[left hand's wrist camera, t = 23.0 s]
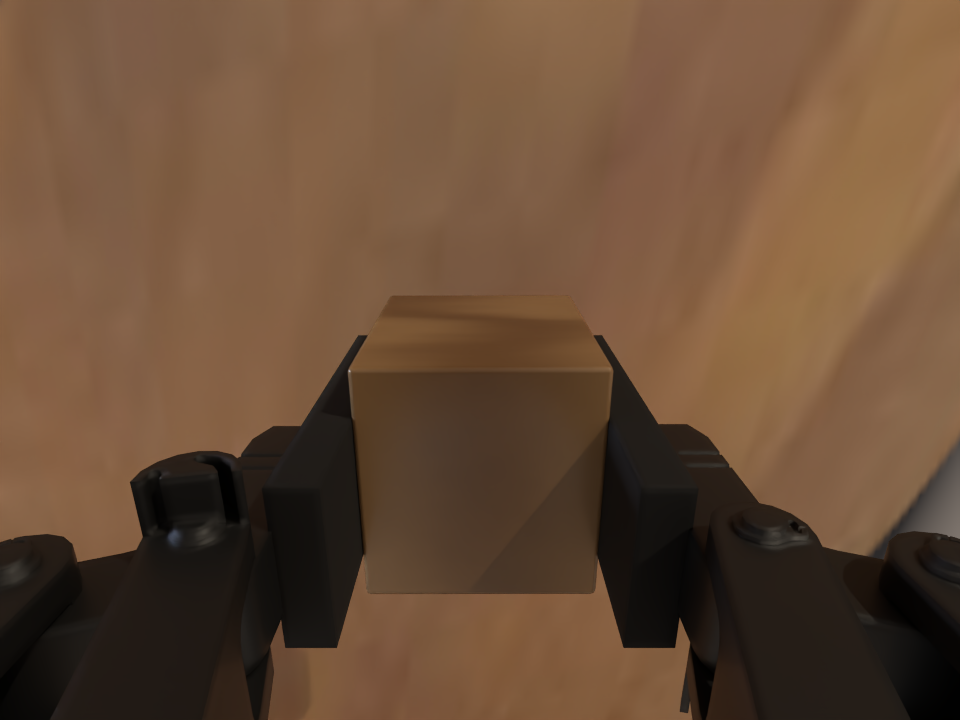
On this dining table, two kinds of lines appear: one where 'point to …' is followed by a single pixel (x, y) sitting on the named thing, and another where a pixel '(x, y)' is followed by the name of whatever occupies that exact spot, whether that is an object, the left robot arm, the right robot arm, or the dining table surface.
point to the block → (480, 446)
